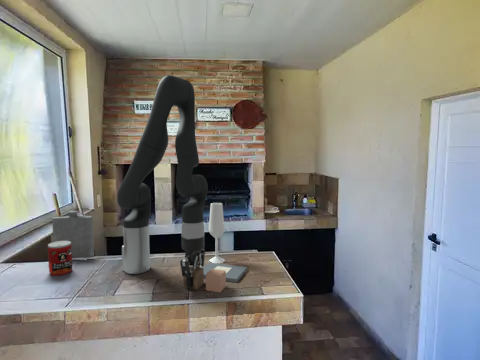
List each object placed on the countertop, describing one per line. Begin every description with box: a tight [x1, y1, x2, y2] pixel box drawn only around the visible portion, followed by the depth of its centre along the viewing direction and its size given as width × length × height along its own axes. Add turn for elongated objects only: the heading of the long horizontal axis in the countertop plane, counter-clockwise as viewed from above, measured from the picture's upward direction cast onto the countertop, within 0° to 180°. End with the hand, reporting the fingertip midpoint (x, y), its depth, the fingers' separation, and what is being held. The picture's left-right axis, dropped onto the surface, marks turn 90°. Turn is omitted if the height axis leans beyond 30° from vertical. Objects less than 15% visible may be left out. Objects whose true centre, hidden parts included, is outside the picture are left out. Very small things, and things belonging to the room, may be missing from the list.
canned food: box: [47, 241, 73, 277], centre depth 119 cm, size 8×8×11 cm
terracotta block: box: [205, 269, 227, 293], centre depth 105 cm, size 5×5×6 cm
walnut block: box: [182, 265, 205, 290], centre depth 107 cm, size 5×5×6 cm
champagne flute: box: [208, 202, 226, 264], centre depth 130 cm, size 7×7×24 cm
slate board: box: [202, 262, 248, 283], centre depth 118 cm, size 16×12×1 cm
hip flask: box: [51, 210, 95, 259], centre depth 135 cm, size 16×4×20 cm, turn 98°
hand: (193, 283), depth 107 cm, fingers closed on walnut block, 5 cm apart
